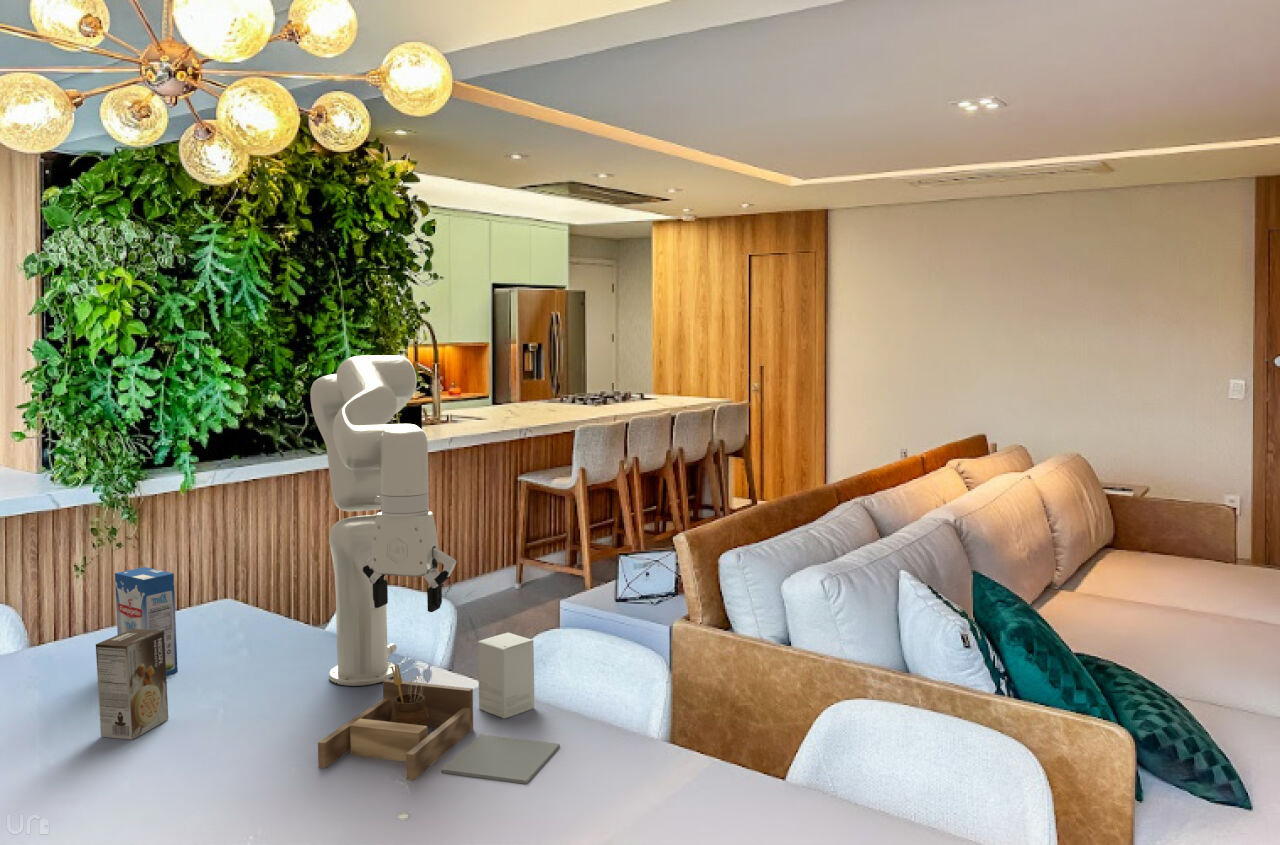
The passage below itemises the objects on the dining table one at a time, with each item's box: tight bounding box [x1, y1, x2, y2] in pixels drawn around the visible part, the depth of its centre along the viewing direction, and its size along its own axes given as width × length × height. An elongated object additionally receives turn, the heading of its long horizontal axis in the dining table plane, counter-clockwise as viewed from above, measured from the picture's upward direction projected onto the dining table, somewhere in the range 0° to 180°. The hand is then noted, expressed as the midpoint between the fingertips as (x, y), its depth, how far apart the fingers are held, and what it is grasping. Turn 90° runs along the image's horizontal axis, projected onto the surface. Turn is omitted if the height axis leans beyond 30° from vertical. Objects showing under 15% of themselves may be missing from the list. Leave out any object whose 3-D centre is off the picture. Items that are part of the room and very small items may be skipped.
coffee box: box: [95, 629, 169, 741], centre depth 168 cm, size 9×6×16 cm
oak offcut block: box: [350, 719, 429, 763], centre depth 158 cm, size 3×12×5 cm, turn 75°
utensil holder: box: [390, 664, 429, 730], centre depth 164 cm, size 6×6×12 cm
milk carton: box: [114, 566, 179, 677], centre depth 196 cm, size 10×6×20 cm, turn 58°
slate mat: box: [441, 733, 561, 785], centre depth 157 cm, size 14×14×1 cm
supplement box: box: [477, 632, 535, 719], centre depth 177 cm, size 7×7×13 cm
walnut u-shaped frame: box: [317, 678, 474, 781], centre depth 161 cm, size 21×16×7 cm
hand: (407, 607), depth 162 cm, fingers open, 9 cm apart
